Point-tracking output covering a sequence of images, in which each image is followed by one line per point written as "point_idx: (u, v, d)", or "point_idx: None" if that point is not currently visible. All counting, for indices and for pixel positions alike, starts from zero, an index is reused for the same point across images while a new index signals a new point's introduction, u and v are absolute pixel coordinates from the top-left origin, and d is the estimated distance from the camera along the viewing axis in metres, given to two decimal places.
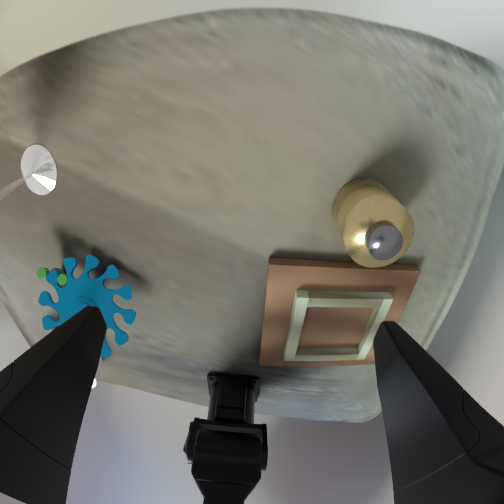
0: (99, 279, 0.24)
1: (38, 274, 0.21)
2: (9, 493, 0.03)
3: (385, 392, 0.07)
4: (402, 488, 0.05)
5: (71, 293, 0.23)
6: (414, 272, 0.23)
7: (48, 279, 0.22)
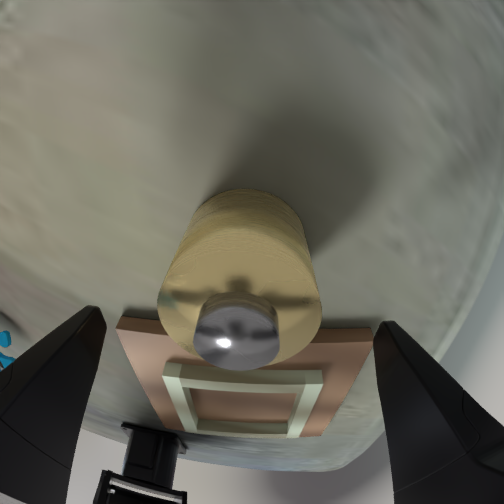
0: None
1: None
2: (9, 493, 0.03)
3: (385, 392, 0.07)
4: (402, 488, 0.05)
5: None
6: (363, 343, 0.14)
7: None
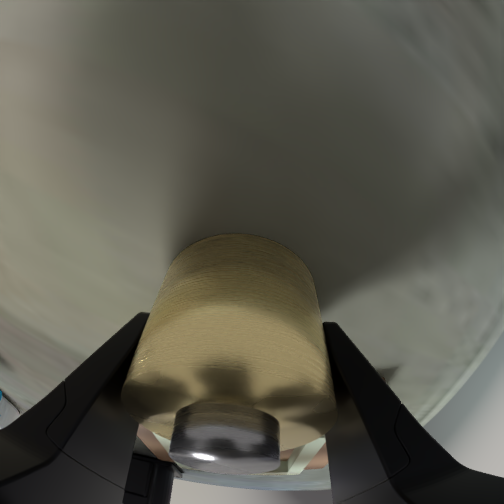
0: None
1: None
2: None
3: None
4: (339, 501, 0.05)
5: None
6: None
7: None
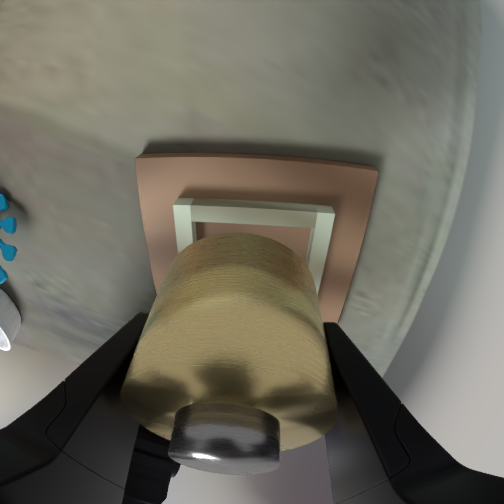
0: None
1: None
2: None
3: None
4: (339, 501, 0.05)
5: None
6: (368, 172, 0.15)
7: None
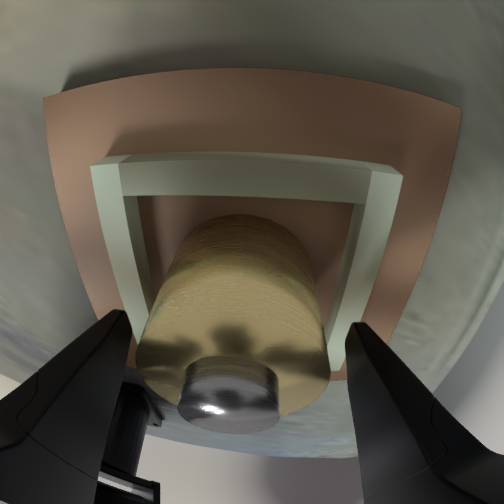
0: None
1: None
2: None
3: (354, 395, 0.07)
4: (371, 495, 0.05)
5: None
6: (447, 108, 0.07)
7: None
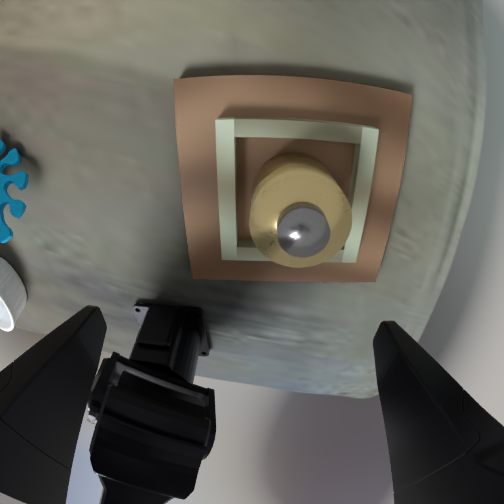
0: None
1: None
2: (9, 493, 0.03)
3: (385, 392, 0.07)
4: (403, 488, 0.05)
5: None
6: (403, 95, 0.13)
7: None
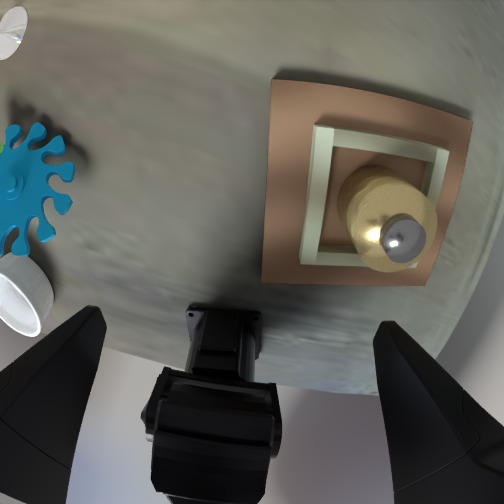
0: (39, 151, 0.15)
1: None
2: (9, 493, 0.03)
3: (385, 392, 0.07)
4: (402, 488, 0.05)
5: (2, 166, 0.14)
6: (466, 121, 0.14)
7: None
